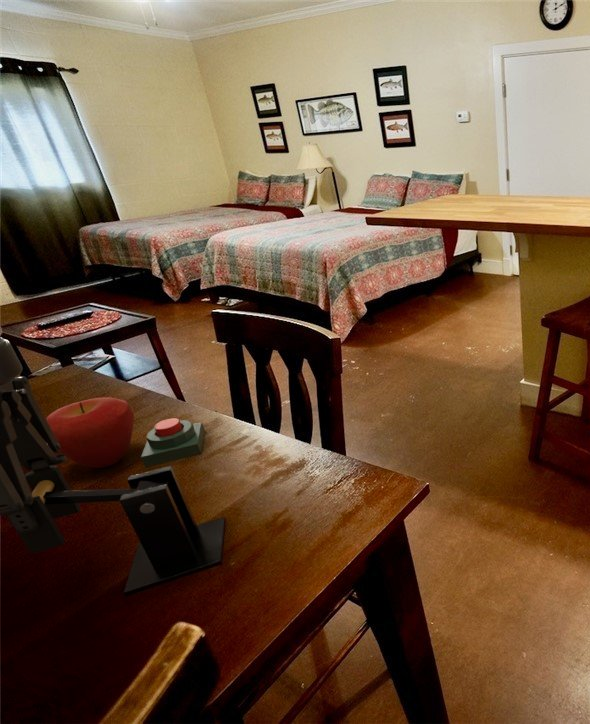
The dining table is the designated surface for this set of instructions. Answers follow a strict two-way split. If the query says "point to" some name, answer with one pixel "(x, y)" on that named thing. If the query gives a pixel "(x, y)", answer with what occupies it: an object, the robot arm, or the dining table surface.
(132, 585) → the bracket
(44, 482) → the lever
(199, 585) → the dining table surface
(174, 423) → the button
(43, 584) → the dining table surface
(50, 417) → the apple
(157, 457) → the button box
